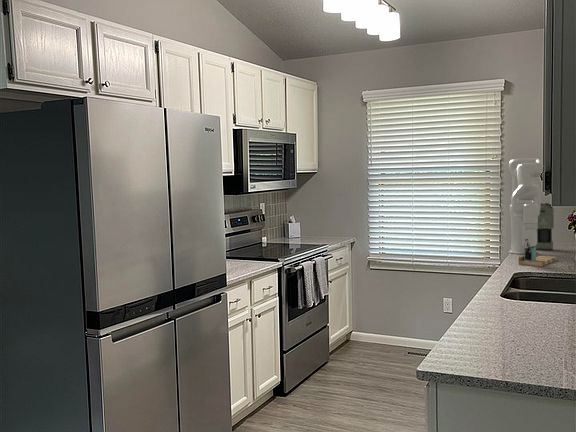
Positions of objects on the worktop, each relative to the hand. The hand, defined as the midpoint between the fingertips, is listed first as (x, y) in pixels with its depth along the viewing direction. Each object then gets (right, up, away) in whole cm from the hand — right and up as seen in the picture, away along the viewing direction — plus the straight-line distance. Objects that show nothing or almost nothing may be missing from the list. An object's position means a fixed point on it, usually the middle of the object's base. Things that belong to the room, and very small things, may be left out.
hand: (530, 258), depth 307 cm
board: (+6, -2, +4) cm, 8 cm away
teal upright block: (0, -1, 0) cm, 1 cm away
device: (+29, +2, +51) cm, 59 cm away
